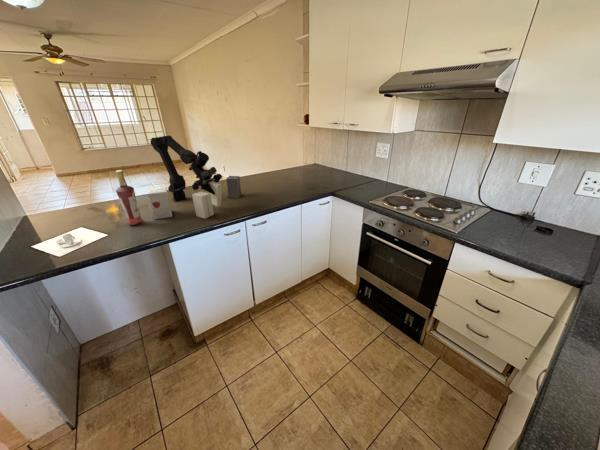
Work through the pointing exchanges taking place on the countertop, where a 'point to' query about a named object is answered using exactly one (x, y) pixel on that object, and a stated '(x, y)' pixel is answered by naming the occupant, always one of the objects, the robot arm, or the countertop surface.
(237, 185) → the grey book
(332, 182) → the countertop surface
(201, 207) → the white book
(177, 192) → the robot arm
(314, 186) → the countertop surface
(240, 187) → the grey book
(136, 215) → the liquor
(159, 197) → the white product box
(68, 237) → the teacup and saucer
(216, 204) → the white book
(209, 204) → the white book
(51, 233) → the countertop surface
